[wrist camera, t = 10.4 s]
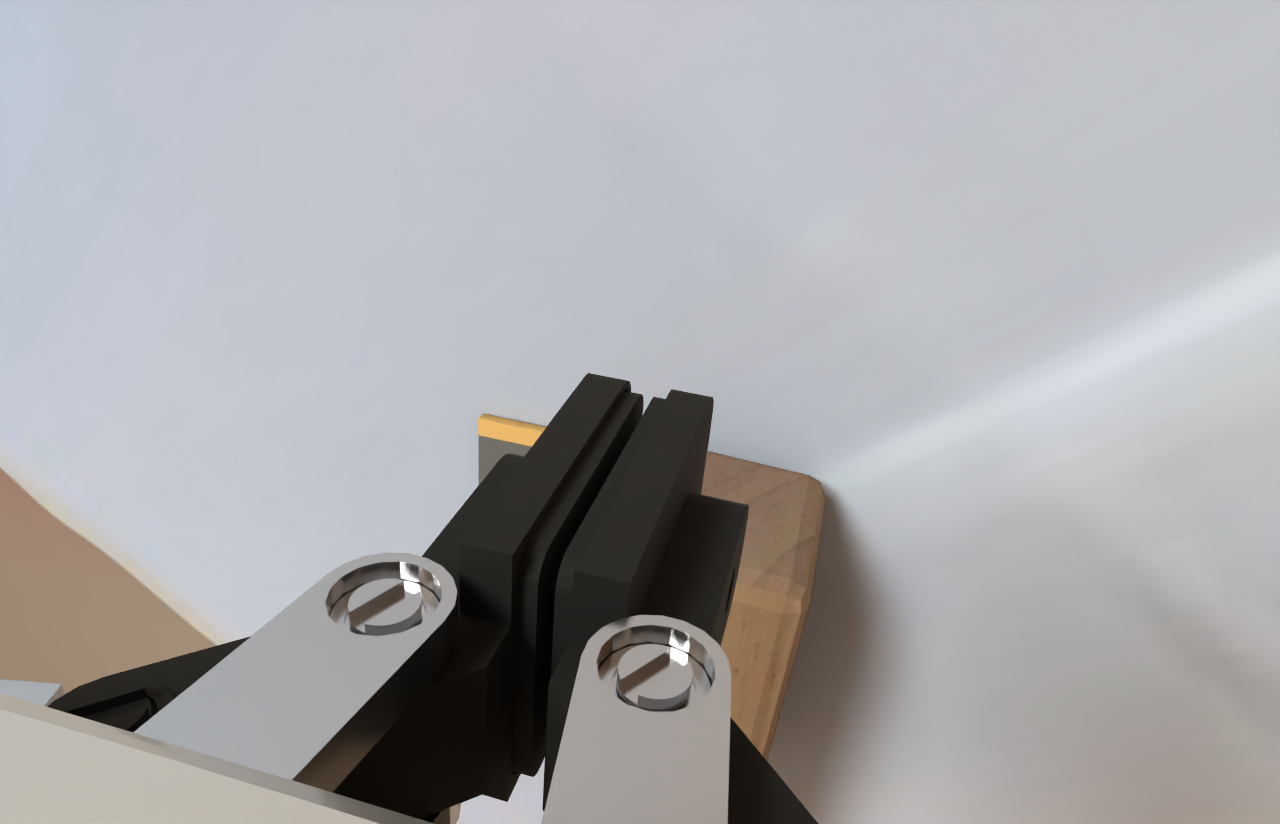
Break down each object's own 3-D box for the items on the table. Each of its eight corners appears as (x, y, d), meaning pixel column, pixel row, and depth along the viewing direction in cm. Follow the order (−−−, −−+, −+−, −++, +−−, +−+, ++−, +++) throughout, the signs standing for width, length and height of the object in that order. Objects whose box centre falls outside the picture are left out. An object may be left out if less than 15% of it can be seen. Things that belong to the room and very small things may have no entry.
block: (831, 472, 43) (756, 754, 53) (633, 425, 45) (595, 706, 55) (812, 601, 35) (727, 909, 44) (569, 537, 36) (537, 847, 46)
